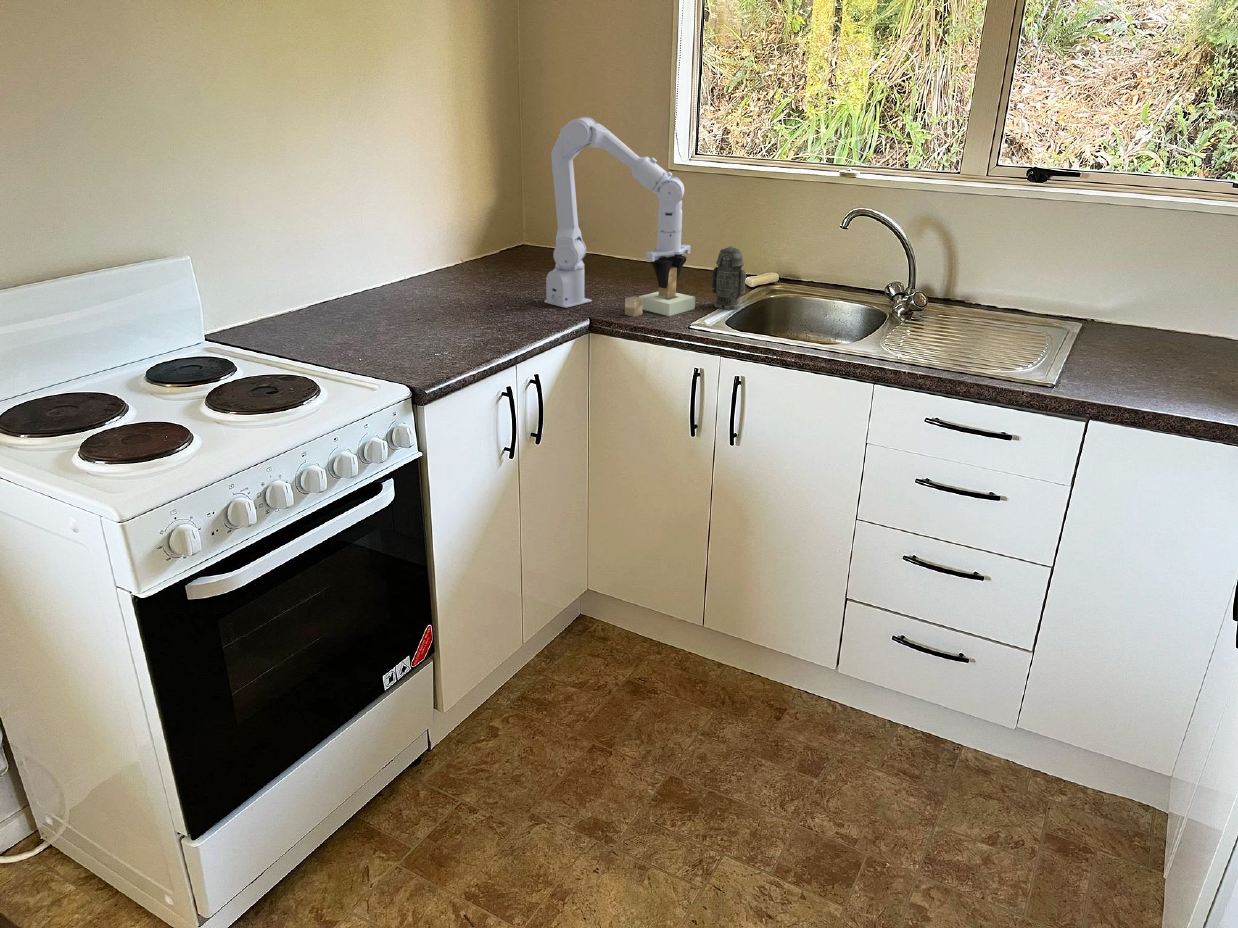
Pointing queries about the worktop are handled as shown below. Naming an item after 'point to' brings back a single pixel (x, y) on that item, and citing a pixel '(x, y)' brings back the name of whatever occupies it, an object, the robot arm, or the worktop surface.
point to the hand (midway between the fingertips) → (667, 286)
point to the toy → (729, 279)
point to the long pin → (670, 284)
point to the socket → (667, 303)
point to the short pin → (633, 306)
